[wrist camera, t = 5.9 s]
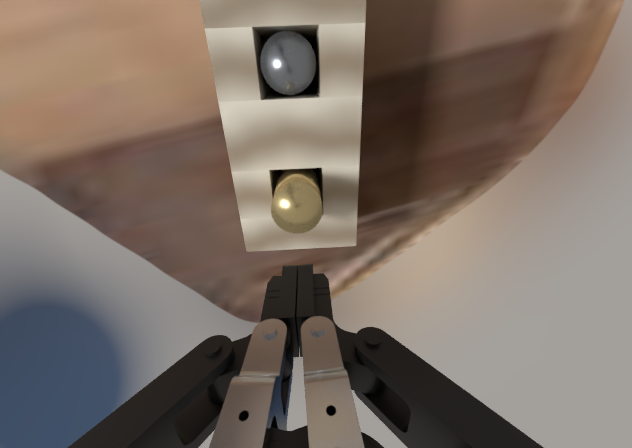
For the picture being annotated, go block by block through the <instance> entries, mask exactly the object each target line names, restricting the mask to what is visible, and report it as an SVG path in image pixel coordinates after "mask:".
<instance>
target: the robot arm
mask: <svg viewBox="0 0 632 448" xmlns="http://www.w3.org/2000/svg"><path fill="white" fill-rule="evenodd" d="M299 347H300V356H301V357H303V367H304V384H305V398H306V410H307V424H308V425H307V426H304V427H302V428H299V429H296V430H293V431H287V416H288V408H289V399H290V392H291V383H292V369H293V357H299ZM351 390H354V391H355V393H356V395H357V396H358V398H359V399H360V400H362V402H363V403H364V404H365V405H366V406H367V407H368V408H369V409H370V410H371V411H372V412H373V413H374V414H375V415H376V416H377V417H378V418H379V419H380V420H381V421H382V422H383V423H384V424H385V425H386V426H387V427H388V428H389V429H390V430H391V431H392V432H393V433H394V434H395V435H396V436H397V437H398V438H399V439H400V440H401V441H402V442H403V443H404V444H405V445H406V446H407V447H408V448H543V447H542V446H541V445H539V444H538V443H536V442H535V441H534V440H532V439H531V438H530V437H528V436H527V435H525V434H524V433H523V432H521V431H520V430H518V429H517V428H516V427H514V426H513V425H512V424H510V423H509V422H508V421H506V420H505V419H503V418H502V417H501V416H499V415H498V414H497V413H495V412H494V411H493V410H491V409H490V408H488V407H487V406H486V405H484V404H483V403H482V402H480V401H479V400H477V399H476V398H474V397H473V396H472V395H471V394H469V393H468V392H467V391H465V390H463V389H462V388H461V387H460V386H458V385H457V384H455V383H454V382H453V381H451V380H450V379H449V378H447V377H446V376H445V375H443V374H442V373H440V372H439V371H437V370H436V369H435V368H434V367H432V366H431V365H430V364H428V363H427V362H425V361H424V360H423V359H421V358H420V357H419V356H417V355H416V354H414V353H413V352H411V351H410V350H409V349H408V348H406V347H405V346H403V345H402V344H401V343H399V342H398V341H396V340H395V339H394V338H392V337H391V336H390V335H388V334H387V333H386V332H384V331H383V330H381V329H379V328H374V327H366V328H363V329H361V330H359V331H358V332H357V334H356V333H351V332H347V331H344V330H342V329H340V328H339V327H338V326H337V325H336V324H335V322H334V321H333V315H332V307H331V298H330V290H329V281H328V279H327V277H326V276H325V275H324V274H323V273H322V274H313V264H305V265H288V266H283V271H282V276H273V277H272V278H271V280H270V281H269V282H268V284H267V289H266V295H265V300H264V305H263V310H262V315H261V321H260V323H259V324H258V325H257V326H256V327H255V328H254V330H253V333H252V334H250V335H249V336H247V337H245V338H242V339H239V340H236V341H233V342H232V341H231V340H230V338H228V337H227V336H223V335H217V336H212V337H210V338H208V339H206V340H205V341H203V342H202V343H200V344H199V345H198V346H197V347H195V348H194V349H193V350H192V351H190V352H189V353H188V354H186V355H185V356H184V357H183V358H181V359H180V360H179V361H177V362H176V363H175V364H174V365H172V366H171V367H170V368H169V369H167V370H166V371H165V372H163V373H162V374H161V375H160V376H158V377H157V378H156V379H155V380H153V381H152V382H151V383H149V384H148V385H147V386H146V387H144V388H143V389H142V390H141V391H139V392H138V393H137V394H135V395H134V396H133V397H132V398H131V399H129V400H128V401H127V402H125V403H124V404H123V405H121V406H120V407H119V408H118V409H116V410H115V411H114V412H113V413H111V414H110V415H109V416H107V417H106V418H105V419H104V420H102V421H101V422H100V423H99V424H97V425H96V426H95V427H93V428H92V429H91V430H90V431H88V432H87V433H86V434H85V435H83V436H82V437H81V438H80V439H78V440H77V441H76V442H75V443H73V444H72V445H71V446H69V447H68V448H198V447H199V446H200V445H201V444H202V443H203V442H204V441H205V439H206V438H207V437H208V436H209V435H210V434H211V433H212V432H213V431H214V430H215V431H214V434H213V437H212V440H211V443H210V446H209V448H384V447H382V446H381V445H380V444H379V443H378V442H377V441H376V440H374V439H373V438H371V437H370V436H368V435H366V434H365V433H362V432H361V430H360V426H359V422H358V418H357V413H356V408H355V404H354V399H353V395H352V391H351Z"/></svg>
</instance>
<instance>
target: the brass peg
mask: <svg viewBox="0 0 632 448" xmlns="http://www.w3.org/2000/svg"><path fill="white" fill-rule="evenodd" d="M322 211H323V210H322V202H321V195H320V189H319V182H318V177H317V175H316V173H315V171H314V170H313V169H312V168H304V169H282V171H281V172H280V174H279V176H278V180H277V184H276V189H275V193H274V197H273V201H272V206H271V215H272V218H273V220H274V222H275V223H276V224H277V226H278V227H280V228H281V229H282V230H284V231H286V232H289V233H295V234H299V233H305V232H308V231H310V230H312V229H313V228H314V227H316V225H317V224H318V223H319V222H320V220H321V217H322Z"/></svg>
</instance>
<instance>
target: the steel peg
mask: <svg viewBox="0 0 632 448" xmlns="http://www.w3.org/2000/svg"><path fill="white" fill-rule="evenodd" d="M260 63H261V70H262V74H263V76H264V78H265V80H266V82H267V83H268V84H269V85H270V86H271V87H272V88H273V89H274V90H275V91H277V92H279V93H282V94H286V95H294V94H298V93H300V92H302V91H303V90H305V89H306V88H307V87H308V86H309V85H310V83H311V82H312V80H313V77H314V75H315V70H316V58H315V54H314V51H313V49H312V47H311V45H310V43H309V42H308V41H307V40H306V39H305V38H304V37H303V36H302V35H300V34H298V33H296V32H293V31H281V32H278V33H276V34H274V35H273V36H271V37H270V38H269V39H268V40H267V42H266V43H265V45H264V47H263V49H262V52H261V59H260Z"/></svg>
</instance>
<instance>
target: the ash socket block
mask: <svg viewBox="0 0 632 448" xmlns="http://www.w3.org/2000/svg"><path fill="white" fill-rule="evenodd" d="M199 1H200V6H201V11H202V17H203V22H204V27H205V33H206V38H207V43H208V49H209V54H210V59H211V65H212V70H213V75H214V81H215V86H216V91H217V97H218V102H219V107H220V113H221V118H222V123H223V129H224V134H225V139H226V145H227V150H228V155H229V161H230V166H231V171H232V176H233V182H234V187H235V192H236V198H237V203H238V208H239V214H240V219H241V224H242V230H243V235H244V240H245V246H246V251H247V252H250V251H269V250H288V249H306V248H325V247H344V246H356V234H357V210H358V186H359V162H360V139H361V115H362V91H363V67H364V43H365V20H366V0H199ZM281 31H293V32H296V33H298V34H300V35H302V36H303V37H304V38H309V37H315V58H316V92H312V93H298V94H294V95H286V94H270V85H269V84H268V83H267V82H266V80H265V78H264V76H263V74H262V70H261V63H260V59H261V52H262V49H263V47H264V45H265V39H269V38H270V37H271V36H273V35H274V34H276V33H278V32H281ZM304 168H319V189H320V195H321V202H322V210H323V211H322V217H321V220H320V222H319V223H318V224H317V225H316V227H314V228H313V229H312V230H310V231H308V232H305V233H299V234H295V233H289V232H286V231H284V230H282V229H281V228H280V227H278V226H277V224H276V223H275V222H274V220H273V218H272V215H271V206H272V201H273V197H274V193H275V189H276V184H277V180H278V176H279V171H278V170H282V169H304Z"/></svg>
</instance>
